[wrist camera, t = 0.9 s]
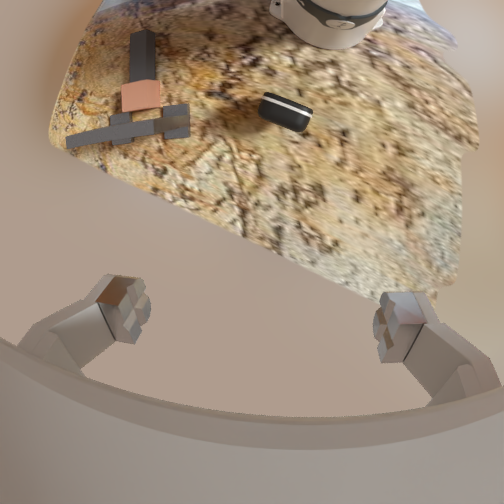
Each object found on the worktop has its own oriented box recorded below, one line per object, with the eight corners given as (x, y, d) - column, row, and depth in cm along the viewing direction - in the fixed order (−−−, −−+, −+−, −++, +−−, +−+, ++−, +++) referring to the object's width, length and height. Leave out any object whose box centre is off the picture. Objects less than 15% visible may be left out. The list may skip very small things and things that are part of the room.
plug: (135, 38, 34) (121, 33, 30) (160, 32, 34) (147, 26, 30) (136, 110, 42) (122, 112, 38) (160, 107, 41) (147, 107, 37)
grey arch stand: (112, 115, 42) (64, 124, 30) (189, 103, 41) (152, 104, 29) (115, 144, 45) (68, 161, 33) (190, 136, 44) (155, 149, 32)
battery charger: (260, 115, 41) (252, 117, 31) (268, 94, 39) (262, 89, 29) (300, 130, 41) (304, 137, 31) (309, 110, 39) (316, 110, 30)
